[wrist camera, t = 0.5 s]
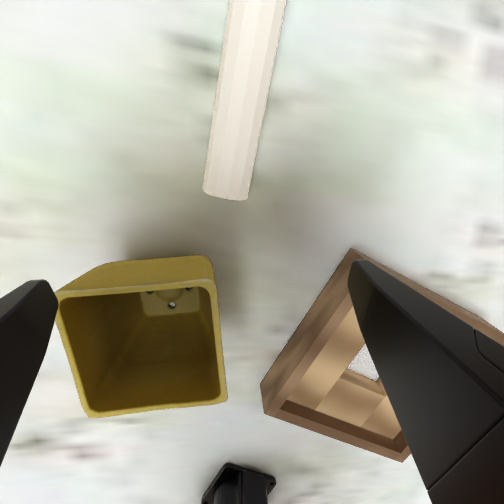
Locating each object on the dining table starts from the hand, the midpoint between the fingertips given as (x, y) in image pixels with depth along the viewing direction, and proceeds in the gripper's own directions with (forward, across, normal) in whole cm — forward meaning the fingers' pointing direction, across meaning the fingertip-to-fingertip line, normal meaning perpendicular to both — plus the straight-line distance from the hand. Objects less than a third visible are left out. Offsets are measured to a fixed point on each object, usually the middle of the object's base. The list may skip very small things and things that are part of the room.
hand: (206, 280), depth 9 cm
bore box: (+10, -14, +20) cm, 26 cm away
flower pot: (+13, +4, +12) cm, 18 cm away
